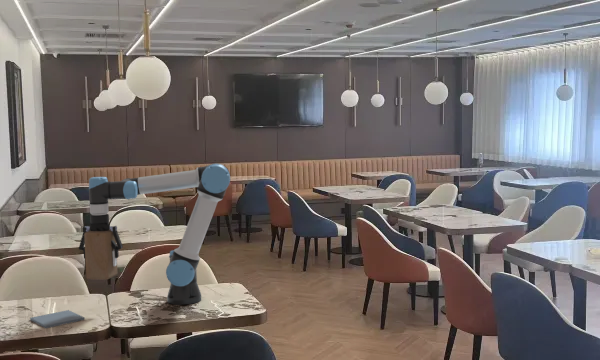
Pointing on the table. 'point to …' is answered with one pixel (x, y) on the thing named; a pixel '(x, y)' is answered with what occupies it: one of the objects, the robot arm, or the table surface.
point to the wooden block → (99, 255)
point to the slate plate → (57, 318)
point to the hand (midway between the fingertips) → (101, 265)
